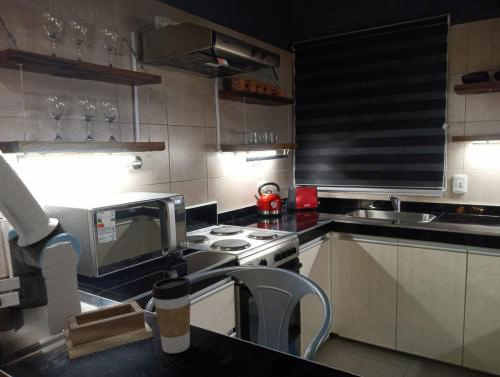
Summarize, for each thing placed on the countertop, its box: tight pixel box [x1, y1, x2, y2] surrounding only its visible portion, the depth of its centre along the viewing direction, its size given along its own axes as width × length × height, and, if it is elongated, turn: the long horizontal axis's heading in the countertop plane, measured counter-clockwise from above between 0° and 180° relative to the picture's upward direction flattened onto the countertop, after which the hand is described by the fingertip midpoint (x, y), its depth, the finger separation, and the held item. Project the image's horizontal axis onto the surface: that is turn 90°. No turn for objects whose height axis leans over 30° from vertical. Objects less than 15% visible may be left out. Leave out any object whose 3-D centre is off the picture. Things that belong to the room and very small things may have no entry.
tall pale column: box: [41, 241, 83, 336], centre depth 103 cm, size 11×4×22 cm, turn 156°
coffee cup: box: [151, 276, 192, 354], centre depth 90 cm, size 8×8×15 cm
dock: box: [63, 300, 154, 360], centre depth 97 cm, size 14×18×6 cm
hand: (19, 289), depth 99 cm, fingers open, 13 cm apart
